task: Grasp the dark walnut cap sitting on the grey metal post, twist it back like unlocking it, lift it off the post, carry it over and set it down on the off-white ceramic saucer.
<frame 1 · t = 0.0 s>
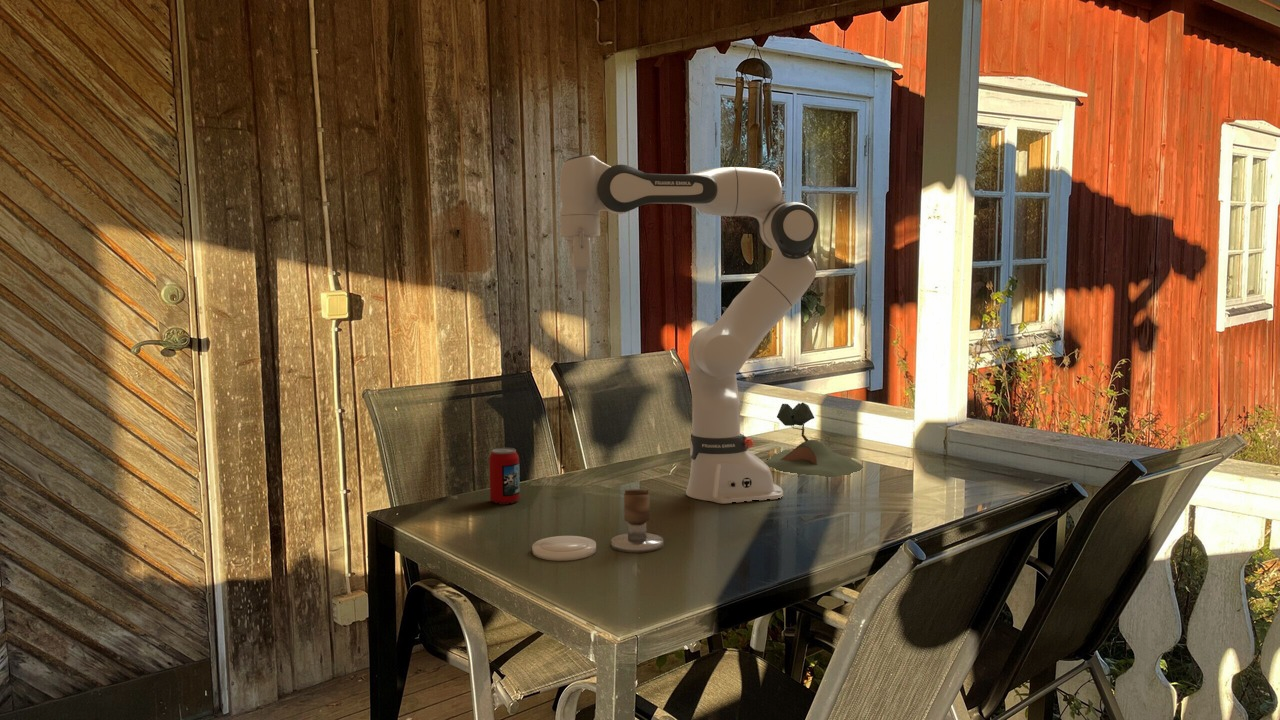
hand: (581, 290, 215), 48 cm above the table, fingers open, 8 cm apart
beverage can: (505, 502, 218), on the table
saucer: (564, 550, 180), on the table
plant: (807, 466, 255), on the table
cap: (636, 519, 183), point 5 cm above the table, touching pedestal
pedestal: (637, 545, 183), on the table
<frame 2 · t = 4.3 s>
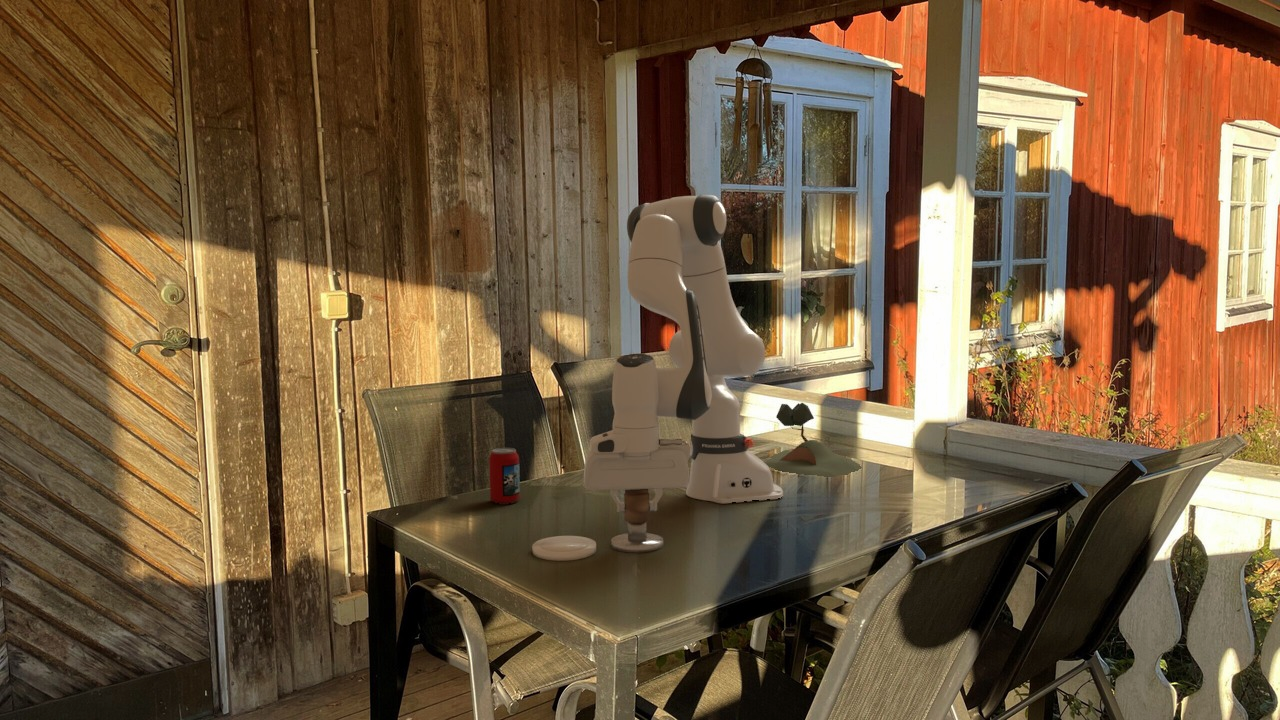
hand: (636, 511, 183), 7 cm above the table, fingers closed on cap, 5 cm apart
cap: (636, 519, 183), point 5 cm above the table, touching gripper, pedestal
everything else where it was.
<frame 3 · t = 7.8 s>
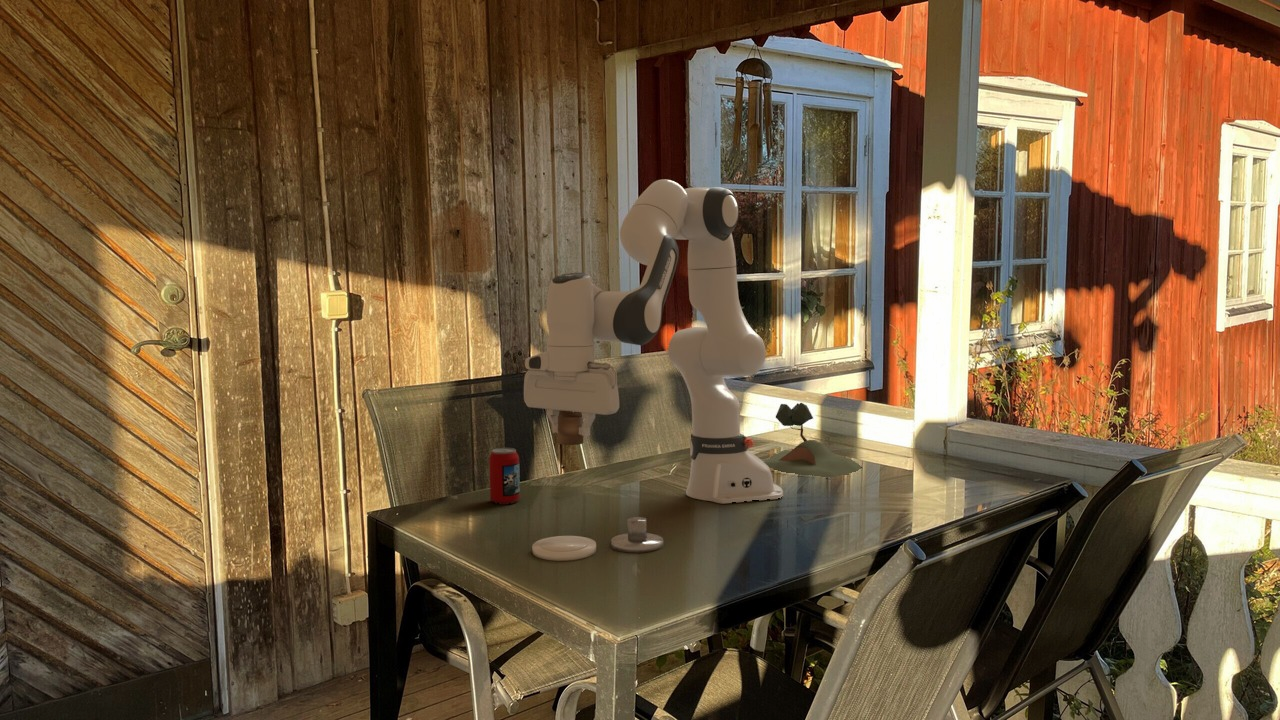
hand: (570, 434, 178), 22 cm above the table, fingers closed on cap, 5 cm apart
cap: (570, 442, 178), point 21 cm above the table, touching gripper
everything else where it was.
when the fingers open (5 cm above the table, at t = 11.0 s): cap drops 2 cm, resting on saucer.
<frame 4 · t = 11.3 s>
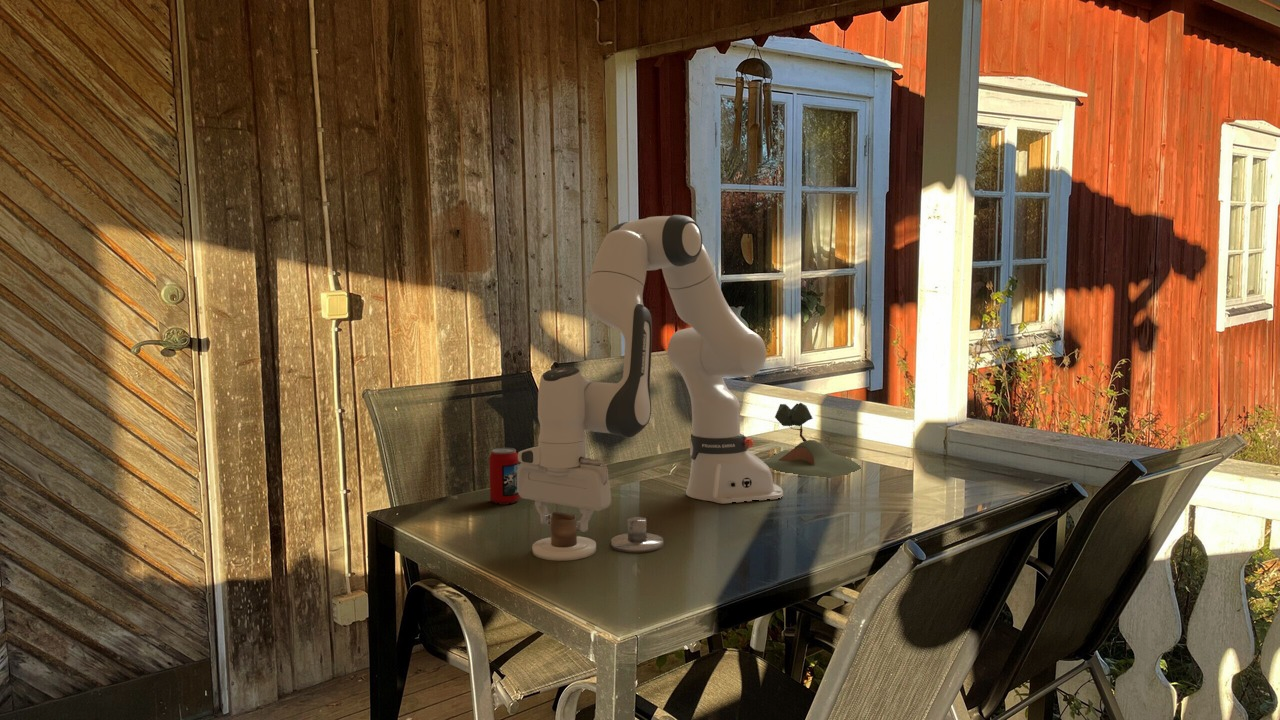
hand: (564, 527, 180), 5 cm above the table, fingers open, 7 cm apart
cap: (563, 543, 180), point 1 cm above the table, touching saucer
everything else where it was.
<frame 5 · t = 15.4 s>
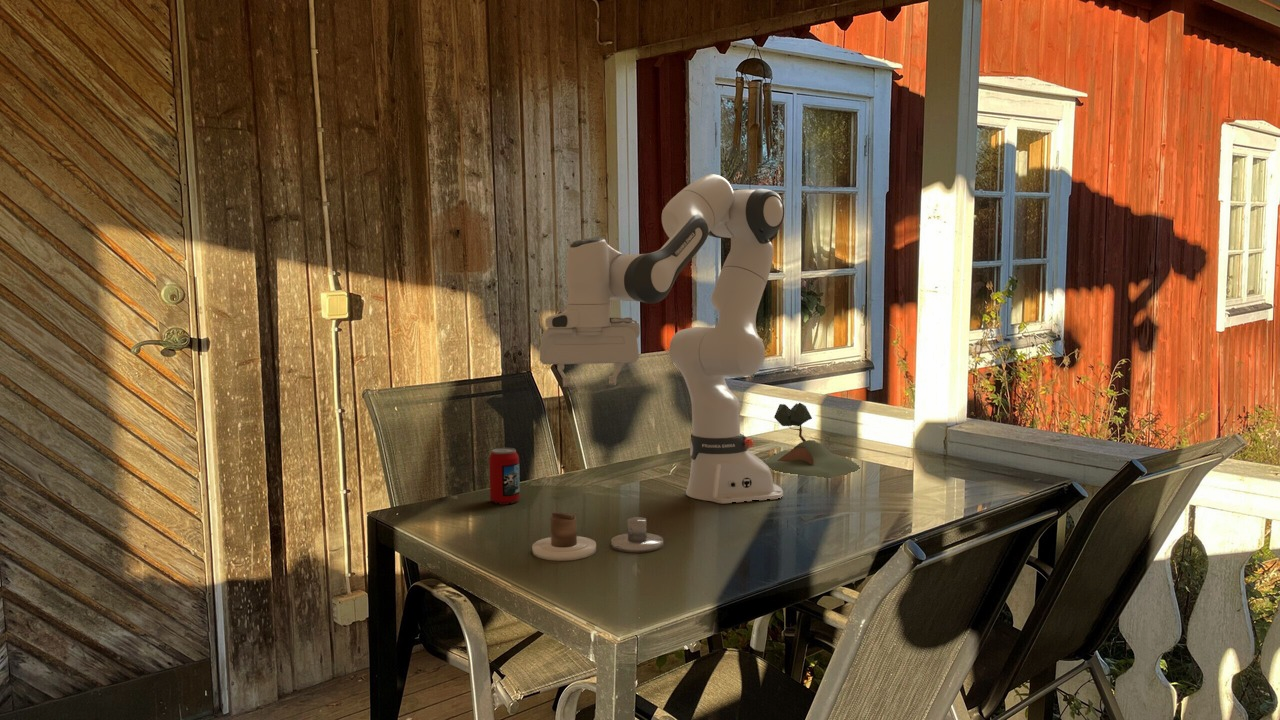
hand: (589, 385, 195), 29 cm above the table, fingers open, 8 cm apart
nothing on the table moved.
at the end: cap 0.1 cm from the saucer (horizontally); cap touching saucer; the gripper is holding nothing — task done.
